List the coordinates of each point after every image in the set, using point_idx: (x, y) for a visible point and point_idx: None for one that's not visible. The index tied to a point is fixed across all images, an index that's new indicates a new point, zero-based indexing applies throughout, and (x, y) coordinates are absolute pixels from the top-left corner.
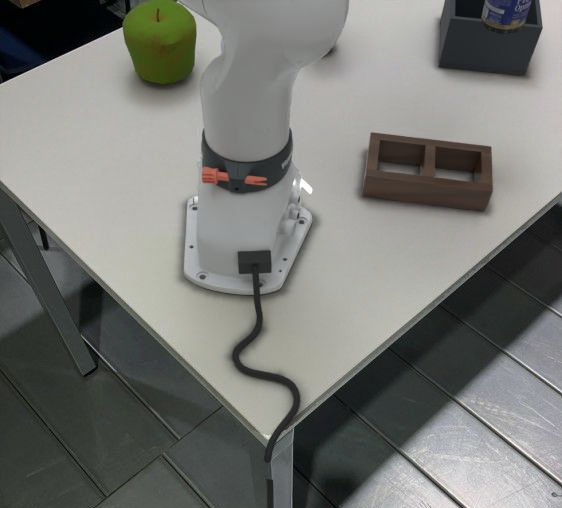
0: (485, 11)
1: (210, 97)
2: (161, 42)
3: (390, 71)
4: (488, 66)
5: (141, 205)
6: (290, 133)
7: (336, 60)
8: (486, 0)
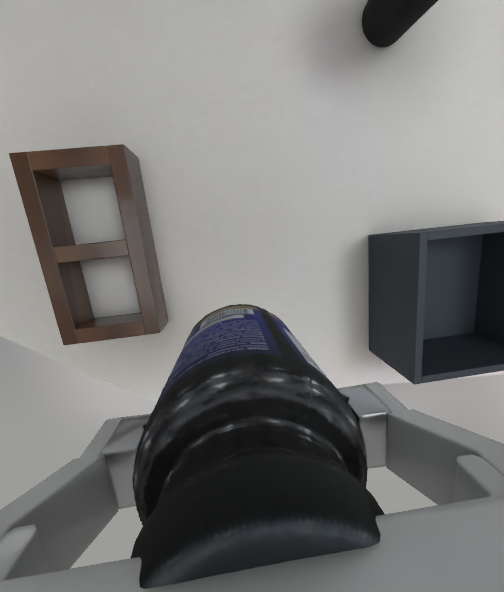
0: (212, 318)
1: None
2: None
3: (343, 163)
4: (373, 304)
5: None
6: None
7: (354, 62)
8: (223, 320)
